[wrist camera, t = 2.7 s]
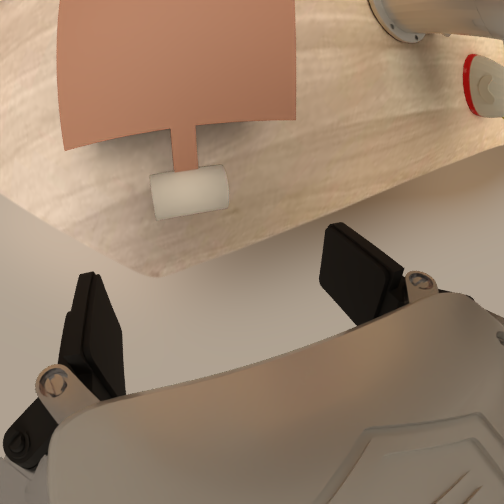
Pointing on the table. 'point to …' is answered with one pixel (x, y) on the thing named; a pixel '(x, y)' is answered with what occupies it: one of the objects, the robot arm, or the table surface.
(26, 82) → the table surface
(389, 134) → the table surface
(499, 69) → the kitchen timer
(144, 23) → the lid
